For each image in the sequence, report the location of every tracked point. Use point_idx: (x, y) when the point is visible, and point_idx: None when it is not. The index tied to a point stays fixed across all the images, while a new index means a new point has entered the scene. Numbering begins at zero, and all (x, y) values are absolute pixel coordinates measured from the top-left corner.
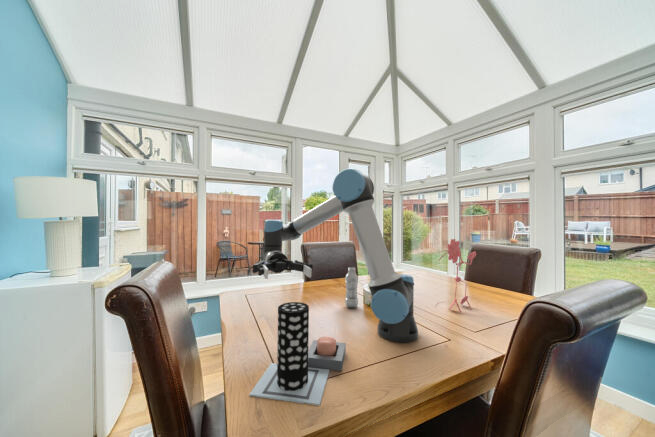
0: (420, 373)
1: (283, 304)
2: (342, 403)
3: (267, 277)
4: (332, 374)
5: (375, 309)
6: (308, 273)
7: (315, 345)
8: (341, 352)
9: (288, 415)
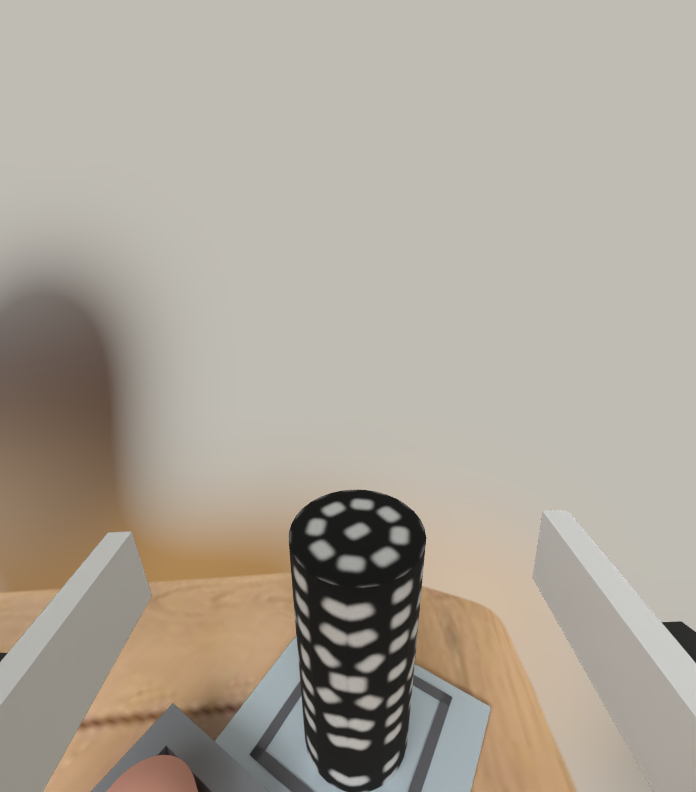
0: (10, 626)
1: (397, 569)
2: (268, 601)
3: (537, 568)
4: (217, 721)
5: None
6: (132, 586)
7: None
8: (117, 774)
9: None
